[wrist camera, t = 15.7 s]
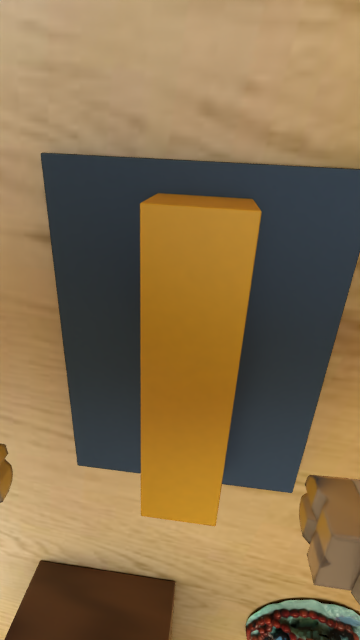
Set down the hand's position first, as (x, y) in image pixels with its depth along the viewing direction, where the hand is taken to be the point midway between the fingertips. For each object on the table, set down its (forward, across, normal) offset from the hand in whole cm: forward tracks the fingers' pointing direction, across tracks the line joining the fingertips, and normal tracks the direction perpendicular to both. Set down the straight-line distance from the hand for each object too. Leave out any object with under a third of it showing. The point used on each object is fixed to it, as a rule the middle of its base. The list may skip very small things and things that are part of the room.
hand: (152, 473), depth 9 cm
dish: (+7, -10, +24) cm, 27 cm away
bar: (+7, -1, +1) cm, 7 cm away
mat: (+7, -1, 0) cm, 7 cm away
